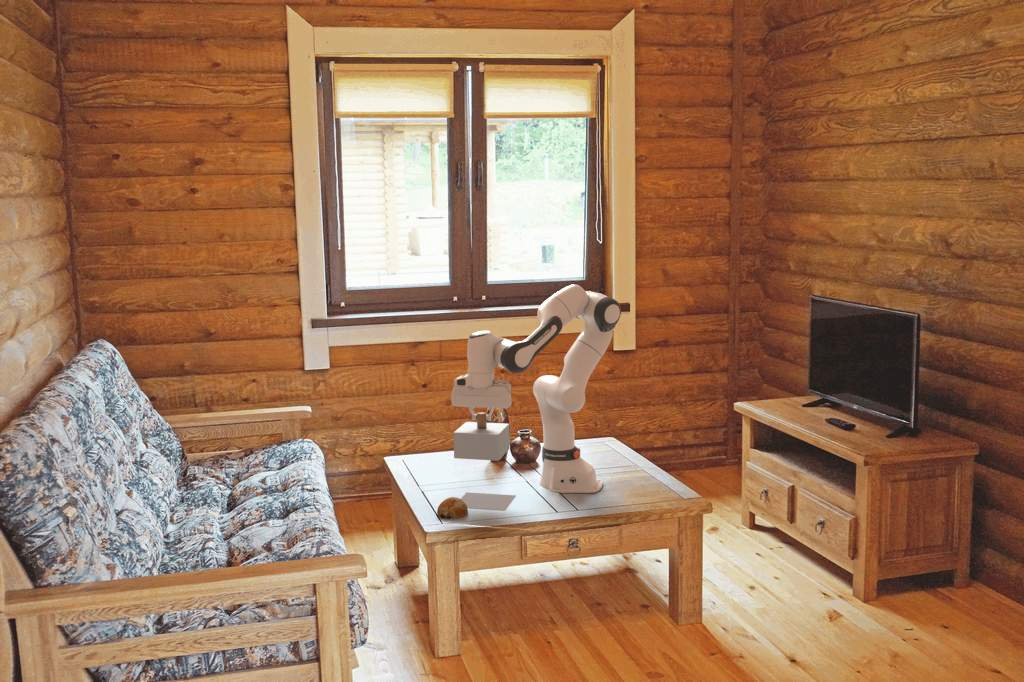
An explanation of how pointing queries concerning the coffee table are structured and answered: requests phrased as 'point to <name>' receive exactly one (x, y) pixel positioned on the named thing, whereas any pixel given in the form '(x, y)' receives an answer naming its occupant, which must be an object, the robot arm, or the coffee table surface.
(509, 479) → the coffee table surface
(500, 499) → the mat
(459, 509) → the bread roll
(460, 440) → the cover
